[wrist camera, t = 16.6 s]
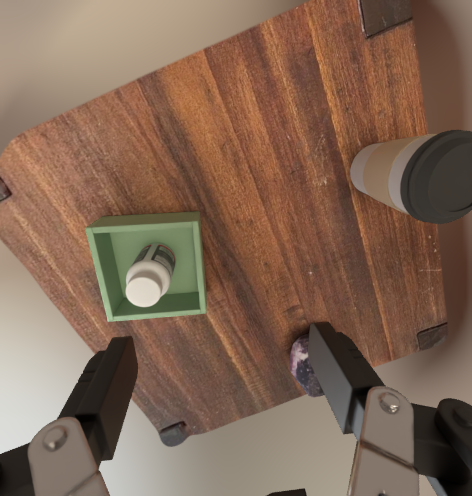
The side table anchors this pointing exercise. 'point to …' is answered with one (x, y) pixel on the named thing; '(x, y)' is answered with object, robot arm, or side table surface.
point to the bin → (128, 248)
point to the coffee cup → (419, 175)
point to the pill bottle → (150, 275)
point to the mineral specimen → (304, 367)
